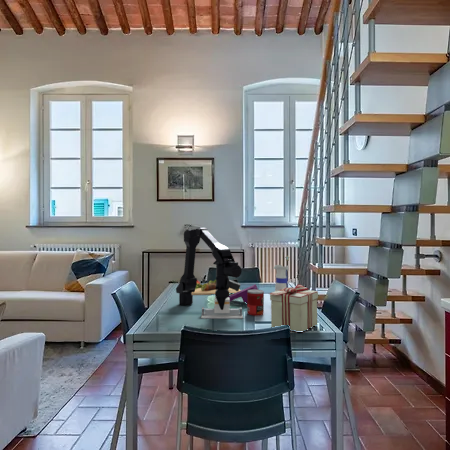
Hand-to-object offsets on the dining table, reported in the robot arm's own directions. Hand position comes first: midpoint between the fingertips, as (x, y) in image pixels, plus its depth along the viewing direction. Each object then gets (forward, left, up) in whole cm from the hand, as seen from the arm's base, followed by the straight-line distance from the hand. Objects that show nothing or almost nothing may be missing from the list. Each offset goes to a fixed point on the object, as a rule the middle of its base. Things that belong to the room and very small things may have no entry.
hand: (221, 308), depth 181 cm
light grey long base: (0, 0, -4) cm, 4 cm away
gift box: (+29, -17, -4) cm, 34 cm away
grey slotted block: (0, 0, -2) cm, 2 cm away
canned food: (+16, +4, -4) cm, 17 cm away
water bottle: (+33, +33, -4) cm, 47 cm away
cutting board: (-6, +60, -4) cm, 60 cm away
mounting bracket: (+11, +28, -4) cm, 30 cm away
